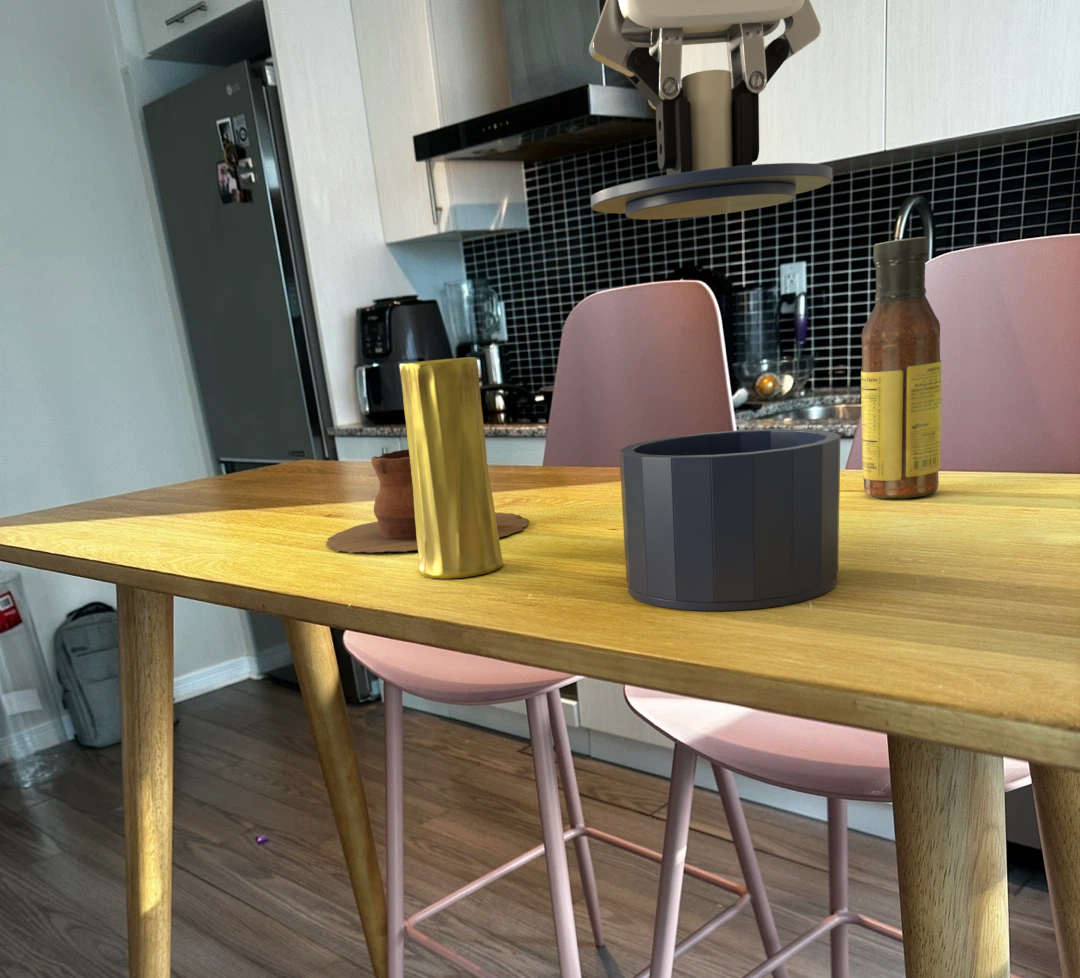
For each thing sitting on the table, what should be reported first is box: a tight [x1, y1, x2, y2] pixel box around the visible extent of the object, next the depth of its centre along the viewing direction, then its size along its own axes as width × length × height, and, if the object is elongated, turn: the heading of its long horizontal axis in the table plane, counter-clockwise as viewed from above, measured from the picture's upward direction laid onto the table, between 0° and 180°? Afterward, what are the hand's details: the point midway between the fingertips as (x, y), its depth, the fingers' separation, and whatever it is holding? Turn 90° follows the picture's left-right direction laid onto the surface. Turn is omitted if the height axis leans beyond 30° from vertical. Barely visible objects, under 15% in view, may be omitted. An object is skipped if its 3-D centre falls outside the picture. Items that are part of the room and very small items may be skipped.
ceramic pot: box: [325, 448, 530, 554], centre depth 88 cm, size 18×18×7 cm
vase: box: [399, 356, 504, 580], centre depth 71 cm, size 6×6×14 cm
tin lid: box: [590, 69, 833, 220], centre depth 59 cm, size 14×14×7 cm
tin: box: [618, 428, 841, 612], centre depth 62 cm, size 13×13×8 cm
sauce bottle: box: [860, 236, 942, 500], centre depth 84 cm, size 6×6×20 cm
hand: (708, 177), depth 60 cm, fingers closed on tin lid, 2 cm apart
